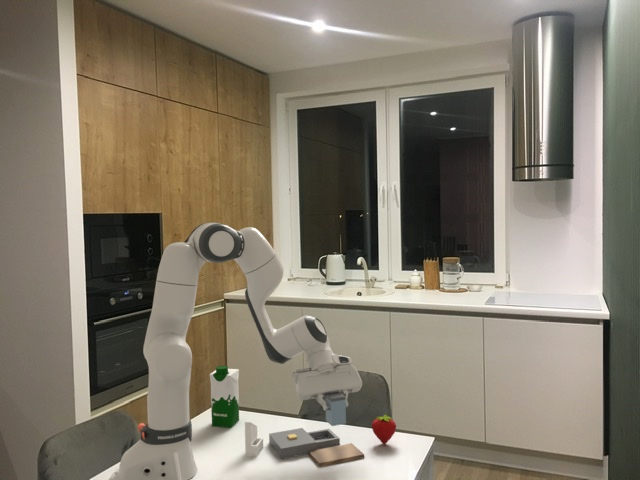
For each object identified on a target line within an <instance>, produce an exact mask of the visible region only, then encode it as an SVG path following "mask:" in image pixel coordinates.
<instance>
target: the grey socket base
mask: <svg viewBox="0 0 640 480" xmlns="http://www.w3.org/2000/svg"><path fill="white" fill-rule="evenodd" d="M268 435H269V436H268V442H269V445H270V446H271V448H273V450H274V451H275V453H276V454H277V455H278V457H279V458H280V459H281V460H283V459H288V458H292V457H298V456H303V455H307V454H308V455H309V451H314V450H319V449H324V448H329V447H334V446H340V445H341V444H340V443H341V441H340V440H341V439H340V437H339V436H337V434H335V433H334V432H333V431H332V430H331V429H330V428H325V429H320V430H319V429H318V430H313V431H309V432H307V431H306V430H305V429H304V428H303V427H299V428H293V429H289V430H282V431H276V432H271V433H268ZM325 437H327V439H322V438H325ZM315 439H321V440H315Z"/></svg>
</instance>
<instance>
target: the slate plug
mask: <svg viewBox="0 0 640 480" xmlns="http://www.w3.org/2000/svg"><path fill="white" fill-rule="evenodd" d="M325 402H329V405H330V409H329V410H326V411H325V421H326V423H328V425H330V426H331V427H334V426H340V425H346V424H347V413H346V412H347V411H346V408H347V407H346V400H345V396H344V395H343V394H341V393H340V392H335V393H329V394H326V397H325Z"/></svg>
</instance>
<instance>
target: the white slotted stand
mask: <svg viewBox="0 0 640 480" xmlns="http://www.w3.org/2000/svg"><path fill="white" fill-rule="evenodd" d="M244 439H245V441H244V443H245V444H244V445H245V456H246V457H247V456H248V457H258V456H259V455H260V454H261V453H262V451H263V449H264V438H263V437H258V426H257V425H256V424H254V423H253V422H251V421H250V422H249V421H245V422H244Z"/></svg>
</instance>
